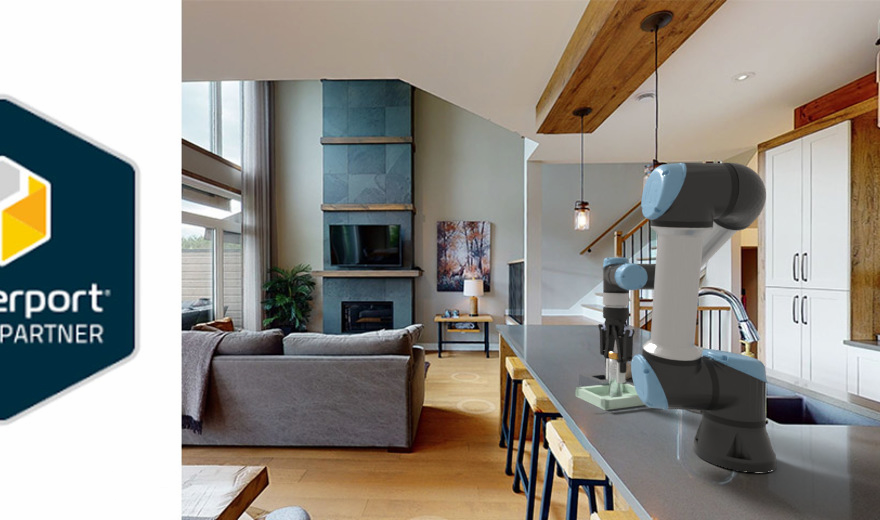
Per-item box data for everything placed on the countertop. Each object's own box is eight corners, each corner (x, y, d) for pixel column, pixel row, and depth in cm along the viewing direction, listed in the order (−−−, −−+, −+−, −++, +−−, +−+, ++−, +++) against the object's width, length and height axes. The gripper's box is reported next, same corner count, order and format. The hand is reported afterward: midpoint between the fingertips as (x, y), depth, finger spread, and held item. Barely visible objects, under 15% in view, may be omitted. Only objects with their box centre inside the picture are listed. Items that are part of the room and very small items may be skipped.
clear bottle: (625, 397, 132) (625, 352, 132) (614, 399, 131) (615, 353, 131) (616, 394, 136) (616, 350, 136) (605, 395, 135) (605, 351, 135)
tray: (624, 392, 143) (624, 382, 143) (657, 404, 130) (657, 394, 130) (575, 397, 137) (575, 387, 137) (604, 411, 124) (604, 400, 124)
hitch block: (626, 392, 142) (626, 380, 142) (602, 395, 139) (602, 383, 139) (602, 383, 154) (602, 372, 154) (579, 385, 150) (579, 374, 150)
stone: (625, 378, 164) (639, 360, 160) (629, 391, 159) (644, 373, 154) (600, 369, 164) (613, 351, 159) (603, 382, 158) (617, 363, 153)
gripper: (646, 308, 127) (646, 387, 127) (606, 303, 143) (606, 373, 143) (626, 309, 124) (625, 389, 124) (588, 304, 140) (587, 375, 140)
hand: (615, 380), depth 133 cm, fingers closed on clear bottle, 4 cm apart
